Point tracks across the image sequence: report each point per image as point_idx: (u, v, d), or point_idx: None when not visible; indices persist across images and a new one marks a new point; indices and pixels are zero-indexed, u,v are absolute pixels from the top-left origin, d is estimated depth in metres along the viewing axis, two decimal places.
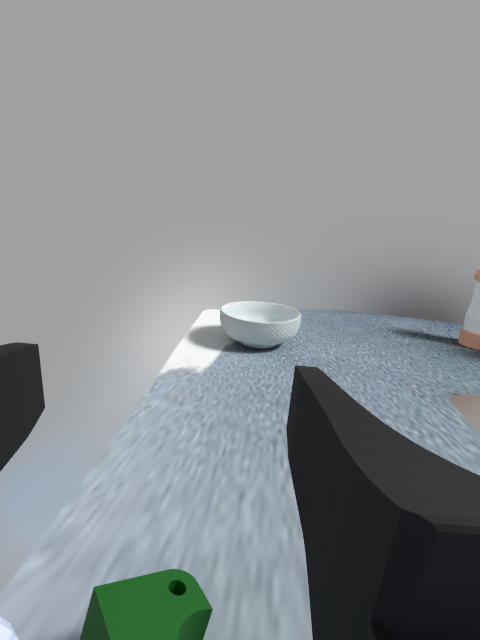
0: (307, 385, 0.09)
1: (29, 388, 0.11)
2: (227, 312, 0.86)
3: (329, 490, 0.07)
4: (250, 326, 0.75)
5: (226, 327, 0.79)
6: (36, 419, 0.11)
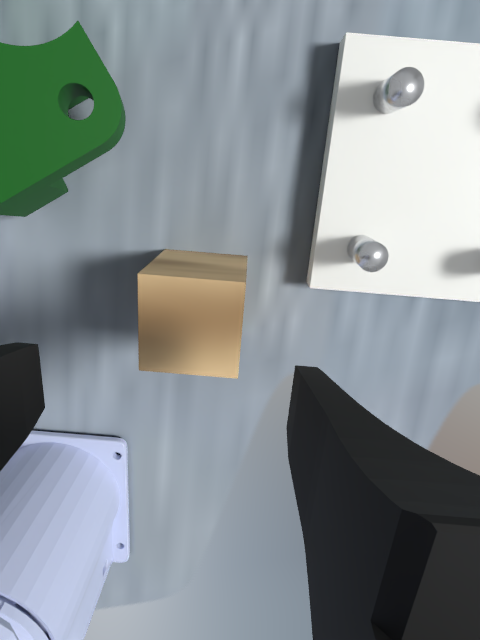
0: (307, 385, 0.09)
1: (29, 388, 0.11)
2: None
3: (329, 490, 0.07)
4: None
5: None
6: (36, 419, 0.11)
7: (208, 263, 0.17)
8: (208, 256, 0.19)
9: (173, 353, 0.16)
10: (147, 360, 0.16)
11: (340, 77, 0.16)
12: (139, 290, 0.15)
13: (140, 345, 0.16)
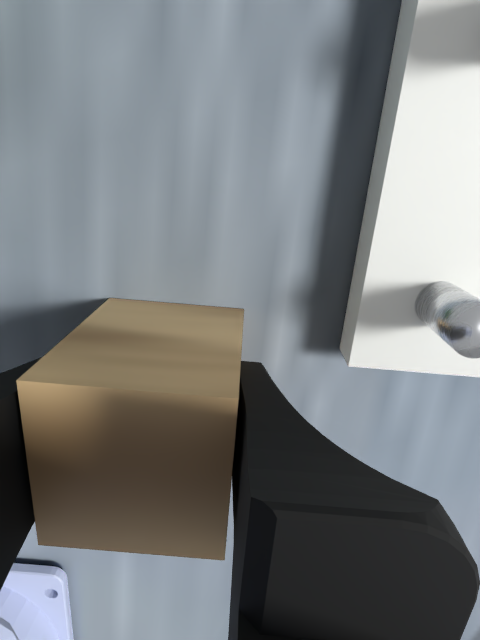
0: (240, 380, 0.09)
1: None
2: None
3: (241, 483, 0.07)
4: None
5: None
6: None
7: (173, 335, 0.10)
8: (178, 314, 0.11)
9: (101, 518, 0.08)
10: (52, 529, 0.08)
11: None
12: (23, 411, 0.07)
13: (36, 505, 0.08)
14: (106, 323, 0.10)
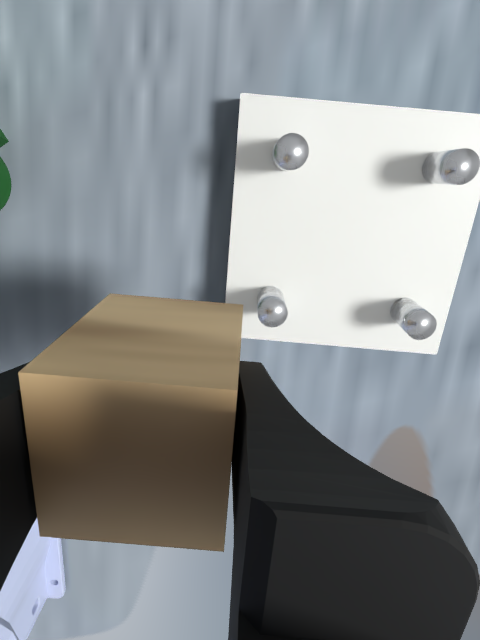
0: (240, 379, 0.09)
1: None
2: None
3: (241, 483, 0.07)
4: None
5: None
6: None
7: (173, 329, 0.10)
8: (178, 309, 0.11)
9: (102, 510, 0.08)
10: (54, 521, 0.09)
11: (238, 135, 0.16)
12: (25, 402, 0.07)
13: (38, 497, 0.08)
14: (107, 318, 0.10)
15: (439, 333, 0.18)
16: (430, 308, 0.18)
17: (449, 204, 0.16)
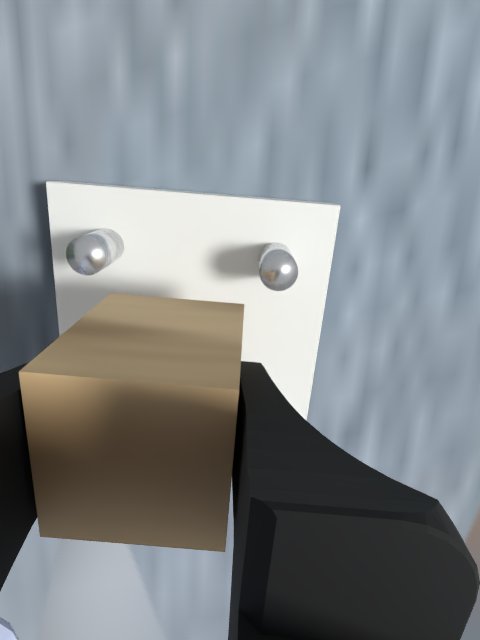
0: (240, 379, 0.09)
1: None
2: None
3: (241, 483, 0.07)
4: None
5: None
6: None
7: (174, 328, 0.10)
8: (178, 308, 0.11)
9: (102, 509, 0.08)
10: (54, 521, 0.08)
11: (51, 225, 0.14)
12: (26, 402, 0.07)
13: (38, 497, 0.08)
14: (107, 317, 0.10)
15: None
16: None
17: (294, 297, 0.15)
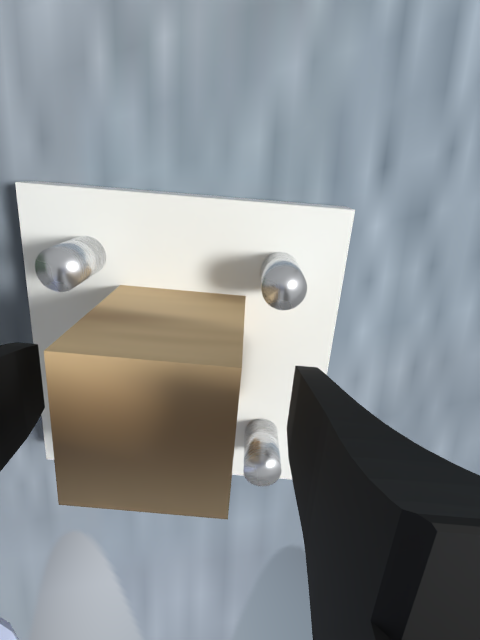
0: (307, 385, 0.09)
1: (29, 388, 0.11)
2: None
3: (329, 490, 0.07)
4: None
5: None
6: (36, 419, 0.11)
7: (181, 316, 0.11)
8: (184, 299, 0.12)
9: (116, 479, 0.09)
10: (72, 490, 0.09)
11: (22, 232, 0.12)
12: (49, 379, 0.08)
13: (58, 467, 0.09)
14: (119, 306, 0.11)
15: None
16: None
17: (301, 313, 0.13)
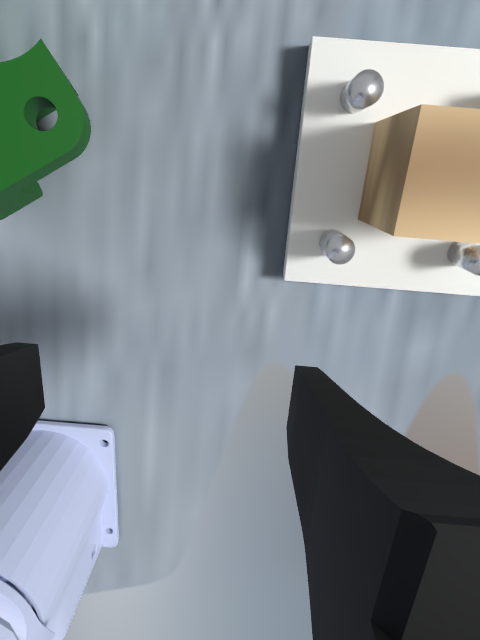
0: (307, 385, 0.09)
1: (29, 388, 0.11)
2: None
3: (329, 490, 0.07)
4: None
5: None
6: (36, 419, 0.11)
7: None
8: None
9: (441, 212, 0.13)
10: (406, 222, 0.13)
11: (308, 78, 0.16)
12: (418, 127, 0.12)
13: (403, 202, 0.13)
14: None
15: None
16: None
17: None
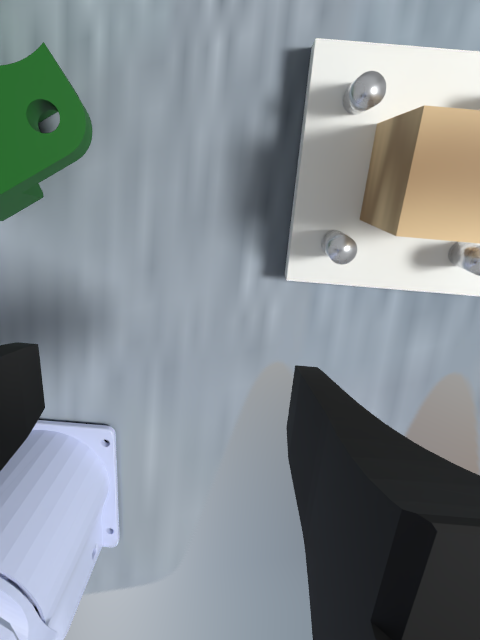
0: (307, 385, 0.09)
1: (29, 388, 0.11)
2: None
3: (329, 490, 0.07)
4: None
5: None
6: (36, 419, 0.11)
7: None
8: None
9: (443, 212, 0.13)
10: (409, 222, 0.14)
11: (311, 80, 0.17)
12: (421, 128, 0.13)
13: (405, 202, 0.13)
14: None
15: None
16: None
17: None
